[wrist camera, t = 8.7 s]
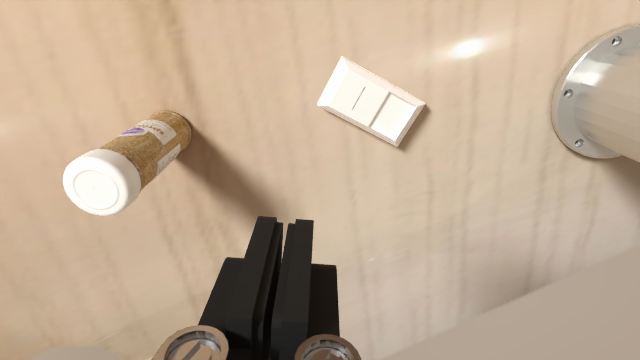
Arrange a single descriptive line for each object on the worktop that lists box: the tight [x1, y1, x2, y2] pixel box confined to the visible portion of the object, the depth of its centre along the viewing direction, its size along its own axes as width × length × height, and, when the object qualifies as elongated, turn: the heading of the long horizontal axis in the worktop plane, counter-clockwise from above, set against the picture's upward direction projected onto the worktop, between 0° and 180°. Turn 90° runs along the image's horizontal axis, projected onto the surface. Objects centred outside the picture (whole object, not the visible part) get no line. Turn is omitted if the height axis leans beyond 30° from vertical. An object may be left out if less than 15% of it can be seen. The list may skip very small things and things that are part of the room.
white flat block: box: [318, 56, 425, 147], centre depth 34 cm, size 5×9×3 cm, turn 62°
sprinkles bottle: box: [63, 110, 191, 216], centre depth 30 cm, size 5×5×13 cm
